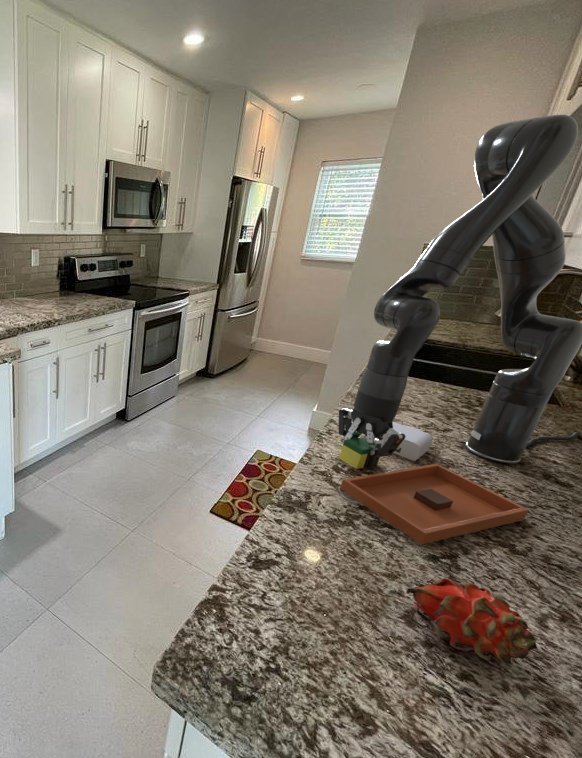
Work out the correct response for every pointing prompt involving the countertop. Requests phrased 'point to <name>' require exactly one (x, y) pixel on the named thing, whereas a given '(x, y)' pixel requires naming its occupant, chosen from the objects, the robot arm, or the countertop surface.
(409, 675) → the countertop surface
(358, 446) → the sponge
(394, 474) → the pan
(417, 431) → the charger
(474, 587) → the dragon fruit
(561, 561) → the countertop surface
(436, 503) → the block
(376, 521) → the countertop surface
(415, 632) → the countertop surface
